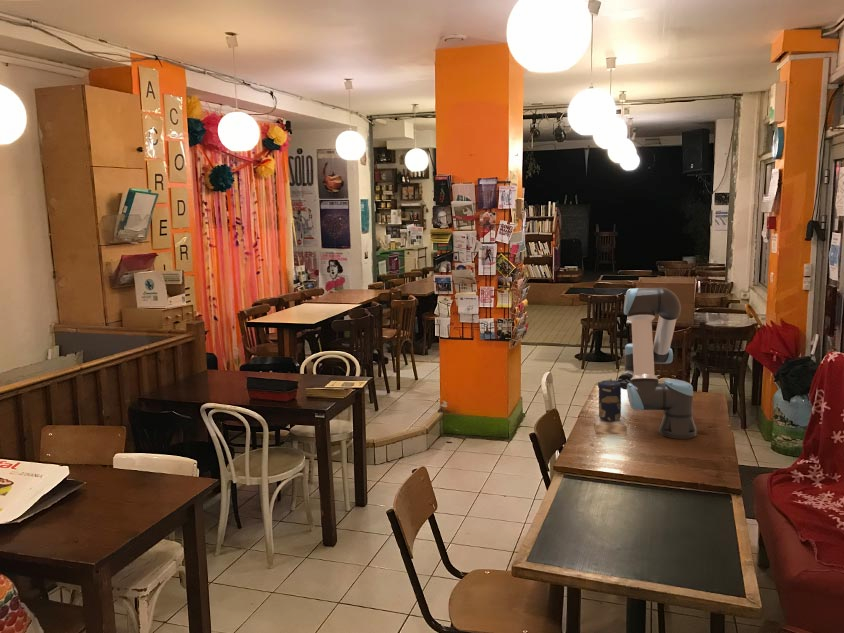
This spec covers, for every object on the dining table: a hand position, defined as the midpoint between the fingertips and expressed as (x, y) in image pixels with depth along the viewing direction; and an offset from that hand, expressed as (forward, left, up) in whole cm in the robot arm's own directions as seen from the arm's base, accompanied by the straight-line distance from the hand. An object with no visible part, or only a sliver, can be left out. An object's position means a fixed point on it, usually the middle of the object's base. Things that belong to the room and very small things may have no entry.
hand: (614, 391), depth 310 cm
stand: (+2, +7, -16) cm, 17 cm away
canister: (+3, +6, -11) cm, 13 cm away
